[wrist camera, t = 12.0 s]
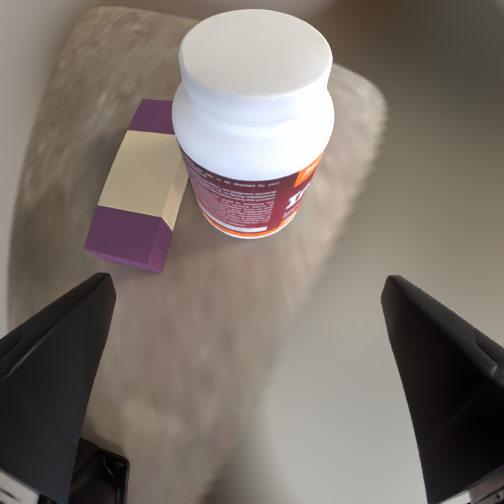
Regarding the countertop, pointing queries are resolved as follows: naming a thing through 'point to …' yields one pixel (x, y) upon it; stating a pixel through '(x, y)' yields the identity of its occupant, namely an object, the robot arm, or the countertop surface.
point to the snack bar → (141, 192)
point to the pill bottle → (252, 117)
